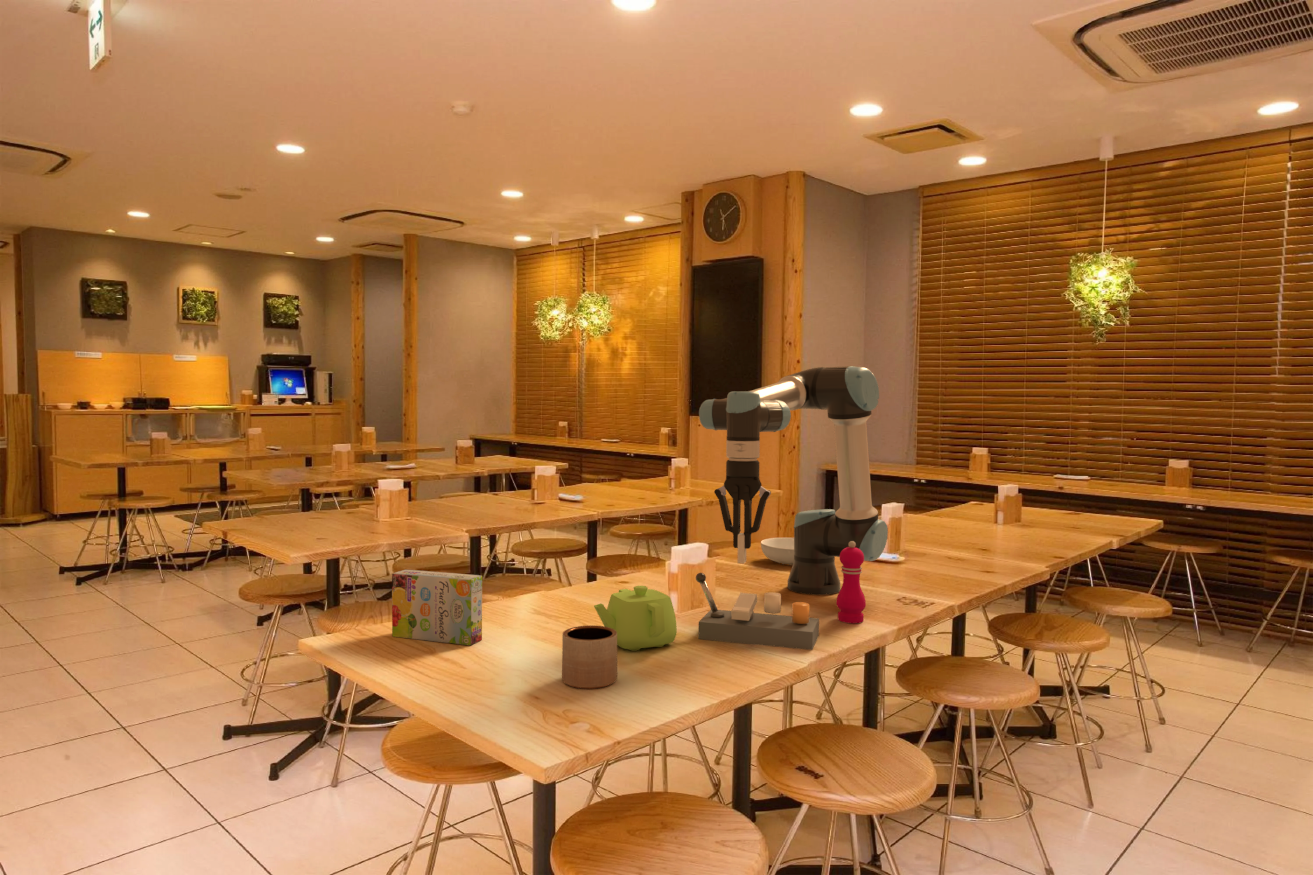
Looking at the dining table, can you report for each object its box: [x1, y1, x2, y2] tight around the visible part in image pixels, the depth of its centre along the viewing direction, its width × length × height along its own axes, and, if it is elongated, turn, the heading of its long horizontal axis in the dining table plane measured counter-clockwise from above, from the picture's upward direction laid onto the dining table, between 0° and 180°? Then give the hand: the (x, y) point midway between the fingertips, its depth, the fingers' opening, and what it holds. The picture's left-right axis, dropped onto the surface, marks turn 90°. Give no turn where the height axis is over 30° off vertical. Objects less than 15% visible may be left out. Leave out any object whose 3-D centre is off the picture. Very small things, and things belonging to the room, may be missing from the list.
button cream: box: [763, 591, 782, 615], centre depth 192 cm, size 4×4×4 cm
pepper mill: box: [835, 541, 867, 624], centre depth 208 cm, size 7×7×20 cm
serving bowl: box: [760, 537, 794, 566], centre depth 280 cm, size 21×21×7 cm
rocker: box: [730, 592, 758, 621], centre depth 193 cm, size 10×4×2 cm, turn 162°
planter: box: [561, 625, 618, 690], centre depth 163 cm, size 11×11×10 cm
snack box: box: [391, 569, 483, 646], centre depth 190 cm, size 21×6×15 cm, turn 71°
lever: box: [695, 572, 719, 613], centre depth 196 cm, size 2×2×10 cm
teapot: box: [593, 585, 677, 652], centre depth 186 cm, size 18×20×13 cm
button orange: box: [791, 601, 810, 624], centre depth 190 cm, size 4×4×4 cm
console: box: [698, 609, 820, 651], centre depth 193 cm, size 12×26×6 cm, turn 72°
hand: (741, 562), depth 189 cm, fingers closed
